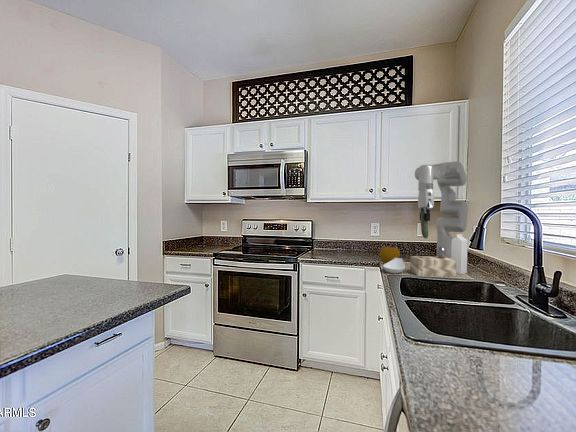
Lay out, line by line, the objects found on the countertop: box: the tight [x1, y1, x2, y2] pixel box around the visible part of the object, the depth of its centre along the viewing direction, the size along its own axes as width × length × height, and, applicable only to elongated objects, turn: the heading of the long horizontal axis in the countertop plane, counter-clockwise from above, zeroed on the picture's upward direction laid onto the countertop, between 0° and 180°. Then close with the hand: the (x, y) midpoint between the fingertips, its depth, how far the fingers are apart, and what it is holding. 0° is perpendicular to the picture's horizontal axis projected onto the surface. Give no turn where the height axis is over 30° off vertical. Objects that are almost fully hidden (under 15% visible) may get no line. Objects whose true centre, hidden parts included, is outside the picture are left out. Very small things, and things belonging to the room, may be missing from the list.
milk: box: [451, 233, 469, 275], centre depth 172 cm, size 6×6×22 cm
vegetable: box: [420, 209, 429, 240], centre depth 167 cm, size 4×4×20 cm
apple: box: [378, 246, 401, 265], centre depth 197 cm, size 13×13×11 cm
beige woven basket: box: [409, 247, 457, 277], centre depth 166 cm, size 20×11×15 cm, turn 90°
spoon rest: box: [382, 257, 406, 275], centre depth 174 cm, size 24×12×7 cm, turn 148°
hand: (424, 220), depth 167 cm, fingers closed on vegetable, 4 cm apart
